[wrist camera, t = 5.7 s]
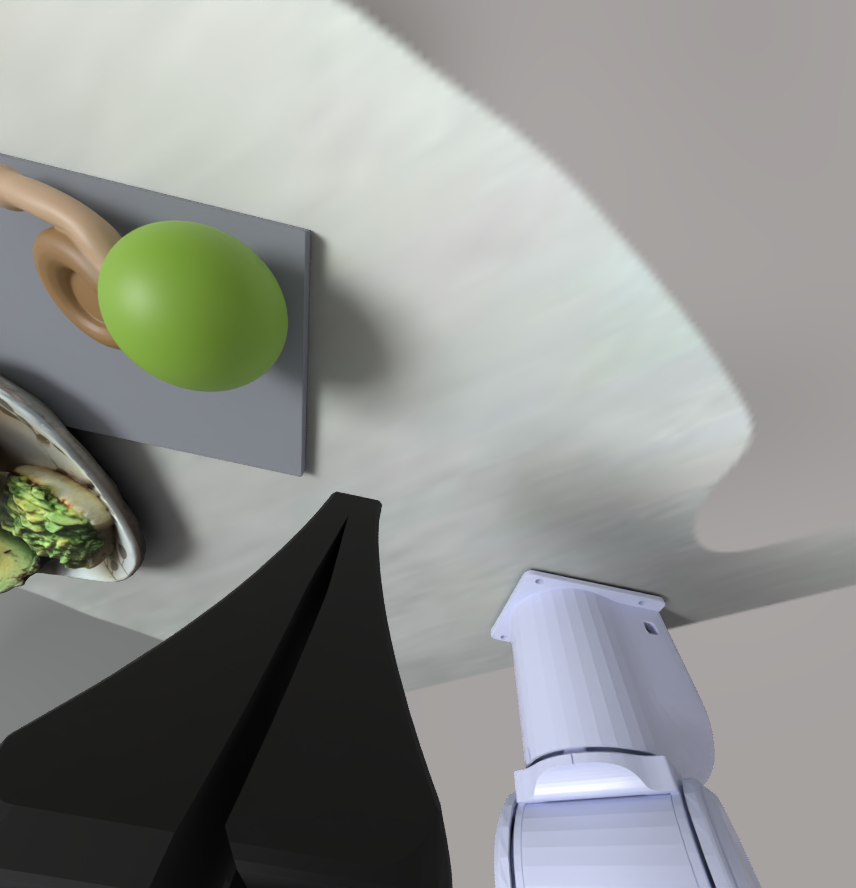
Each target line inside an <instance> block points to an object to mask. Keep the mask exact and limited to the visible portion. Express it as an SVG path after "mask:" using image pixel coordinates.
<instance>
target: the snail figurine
mask: <svg viewBox="0 0 856 888" xmlns="http://www.w3.org/2000/svg"><path fill="white" fill-rule="evenodd" d="M0 206H1V207H3V208H6V209H8V210H12V211H18V212H21V211H26V212H28V213H30V214H32V215H34V216H35V217H37V218H39V219H41V220H43V221H45V222H47V223H49V224H51V225H53V226H54V227H50V228H48V229H45V230H43V231H41V232H40V233H39V234H38V236H37V237H36V239H35V241H34V243H33V258H34V264H35V267H36V270H37V273H38V275H39V277H40V279H41V281H42V283H43V285H44V287H45V289H46V290H47V292H48V294H49V295H50V297H51V298H52V299H53V301H54V302H55V304H56V305H57V306H58V307H59V309H60V310H61V311H62V312H63V313H64V314H65V315H66V317H67V318H68V319H69V320H70V321H71V322H72V323H73V324H74V325H76V326H77V327H78V328H79V329H80V330H81V331H83V332H84V333H85V334H87V335H88V336H89V337H91V338H92V339H94V340H96V341H97V342H99V343H101V344H103V345H105V346H108V347H111V348H114V349H118V350H122V351H123V352H124V353H125V354H126V355H127V356H128V357H129V358H130V359H131V360H132V361H133V362H134V363H135V364H137V365H138V366H139V367H140V368H142V369H143V370H145V371H146V372H148V373H149V374H151V375H152V376H154V377H156V378H158V379H160V380H162V381H164V382H166V383H169V384H171V385H174V386H177V387H181V388H184V389H189V390H194V391H203V392H218V391H227V390H232V389H236V388H239V387H242V386H244V385H247V384H249V383H251V382H253V381H255V380H256V379H258V378H259V377H261V376H262V375H263V374H265V373H266V372H267V371H268V370H269V369H270V368H271V367H272V366H273V364H274V363H275V362H276V360H277V359H278V357H279V355H280V354H281V352H282V349H283V347H284V344H285V341H286V337H287V330H288V314H287V307H286V303H285V299H284V296H283V293H282V291H281V288H280V286H279V284H278V282H277V280H276V278H275V277H274V275H273V274H272V272H271V271H270V269H269V268H268V267H267V265H266V264H265V263H264V262H263V261H262V259H261V258H260V257H259V256H258V255H257V254H256V253H255V252H253V251H252V250H251V249H250V248H249V247H247V246H246V245H245V244H244V243H242V242H241V241H239V240H238V239H236V238H234V237H233V236H231V235H229V234H227V233H225V232H223V231H221V230H219V229H216V228H214V227H211V226H208V225H204V224H200V223H196V222H190V221H178V220H172V221H161V222H155V223H151V224H147V225H144V226H142V227H139V228H137V229H135V230H133V231H131V232H130V233H128V234H127V235H125V236H124V237H123V238H122V237H121V236H120V234H119V233H118V232H117V231H116V230H115V229H114V228H113V227H112V226H111V225H110V224H109V223H108V222H107V221H106V220H104V219H103V218H102V217H101V216H99V215H98V214H97V213H96V212H94V211H93V210H92V209H90V208H89V207H87V206H86V205H84V204H83V203H81V202H80V201H78V200H76V199H75V198H73V197H71V196H69V195H67V194H66V193H64V192H62V191H60V190H58V189H55V188H53V187H51V186H49V185H47V184H45V183H43V182H40V181H38V180H35V179H32V178H29V177H26V176H23V175H22V174H20V173H19V172H18V171H17V170H15V169H14V168H12V167H10V166H8V165H5V164H0Z"/></svg>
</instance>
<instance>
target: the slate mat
mask: <svg viewBox="0 0 856 888" xmlns="http://www.w3.org/2000/svg"><path fill="white" fill-rule="evenodd" d="M0 164H5V165H8V166H10V167H12V168H14V169H15V170H17V171H18V172H19V173H20V174H22V175H23V176H26V177H29V178H32V179H35V180H38V181H40V182H43V183H45V184H47V185H49V186H51V187H53V188H55V189H58V190H60V191H62V192H64V193H66V194H67V195H69V196H71V197H73V198H75V199H76V200H78V201H80V202H81V203H83V204H84V205H86V206H87V207H89V208H90V209H92V210H93V211H94V212H96V213H97V214H98V215H99V216H101V217H102V218H103V219H104V220H106V221H107V222H108V223H109V224H110V225H111V226H112V227H113V228H114V229H115V230H116V231H117V232H118V233H119V234H120V236H121V237H122V238H123V237H124V236H125V235H127V234H128V233H130V232H131V231H133V230H135V229H137V228H139V227H142V226H144V225H147V224H151V223H155V222H161V221H172V220H178V221H190V222H196V223H200V224H204V225H208V226H211V227H214V228H216V229H219V230H221V231H223V232H225V233H227V234H229V235H231V236H233V237H234V238H236V239H238V240H239V241H241V242H242V243H244V244H245V245H246V246H247V247H249V248H250V249H251V250H252V251H253V252H255V253H256V254H257V255H258V256H259V257H260V258H261V259H262V261H263V262H264V263H265V264H266V265H267V267H268V268H269V269H270V271H271V272H272V274H273V275H274V277H275V278H276V280H277V282H278V284H279V286H280V288H281V291H282V293H283V296H284V299H285V303H286V307H287V314H288V330H287V337H286V341H285V344H284V347H283V349H282V352H281V354H280V355H279V357H278V359H277V360H276V362H275V363H274V364H273V366H272V367H271V368H270V369H269V370H268V371H267V372H266V373H265V374H263V375H262V376H261V377H259V378H258V379H256V380H255V381H253V382H251V383H249V384H247V385H244V386H242V387H239V388H236V389H232V390H227V391H218V392H203V391H194V390H189V389H184V388H181V387H177V386H174V385H171V384H169V383H166V382H164V381H162V380H160V379H158V378H156V377H154V376H152V375H151V374H149V373H148V372H146V371H145V370H143V369H142V368H140V367H139V366H138V365H137V364H135V363H134V362H133V361H132V360H131V359H130V358H129V357H128V356H127V355H126V354H125V353H124V352H123V351H122V350H118V349H114V348H111V347H108V346H105V345H103V344H101V343H99V342H97V341H96V340H94V339H92V338H91V337H89V336H88V335H87V334H85V333H84V332H83V331H81V330H80V329H79V328H78V327H77V326H76V325H74V324H73V323H72V322H71V321H70V320H69V319H68V318H67V317H66V315H65V314H64V313H63V312H62V311H61V310H60V309H59V307H58V306H57V305H56V304H55V302H54V301H53V299H52V298H51V297H50V295H49V294H48V292H47V290H46V289H45V287H44V285H43V283H42V281H41V279H40V277H39V275H38V273H37V270H36V267H35V264H34V258H33V243H34V241H35V239H36V237H37V236H38V234H39V233H40V232H41V231H43V230H45V229H48V228H50V227H54V226H53V225H51V224H49V223H47V222H45V221H43V220H41V219H39V218H37V217H35V216H34V215H32V214H30V213H28V212H26V211H21V212H18V211H12V210H8V209H6V208H3V207H1V206H0V372H1V374H2V376H3V377H5V378H7V379H8V380H10V381H11V382H13V383H15V384H16V385H18V386H19V387H21V388H23V389H24V390H26V391H27V392H29V393H31V394H32V395H34V396H35V397H37V398H38V399H39V400H41V401H42V402H43V403H44V404H46V405H47V406H48V407H49V408H50V409H51V410H52V411H53V413H54V414H55V415H56V416H57V417H58V418H59V419H60V421H61V422H62V423H63V424H64V425H65V426H66V427H71V428H76V429H80V430H85V431H89V432H94V433H99V434H103V435H108V436H113V437H117V438H122V439H127V440H131V441H136V442H141V443H145V444H150V445H155V446H159V447H164V448H169V449H173V450H178V451H183V452H187V453H192V454H197V455H201V456H206V457H210V458H215V459H220V460H224V461H229V462H234V463H238V464H243V465H248V466H252V467H257V468H262V469H266V470H271V471H276V472H280V473H285V474H290V475H294V476H299V477H301V476H302V475H303V473H304V471H305V450H306V409H307V367H308V326H309V285H310V243H311V230H308V229H304V228H300V227H296V226H292V225H288V224H284V223H280V222H276V221H271V220H267V219H263V218H259V217H255V216H251V215H247V214H243V213H239V212H235V211H231V210H227V209H223V208H219V207H215V206H211V205H207V204H203V203H199V202H195V201H191V200H187V199H183V198H179V197H175V196H170V195H166V194H162V193H158V192H154V191H150V190H146V189H142V188H138V187H134V186H130V185H126V184H122V183H118V182H114V181H110V180H106V179H102V178H98V177H94V176H90V175H86V174H82V173H78V172H74V171H69V170H65V169H61V168H57V167H53V166H49V165H45V164H41V163H37V162H33V161H29V160H25V159H21V158H17V157H13V156H9V155H5V154H1V153H0Z"/></svg>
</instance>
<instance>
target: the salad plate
mask: <svg viewBox="0 0 856 888" xmlns="http://www.w3.org/2000/svg"><path fill="white" fill-rule="evenodd" d="M145 551H146V547H145V540H144V537H143V534H142V530H141V526H140V524H139V522H138V520H137V518H136V516H135V514H134V513H133V512H132V510H131V509H130V508H129V506H128V505H127V504H126V503H125V501H124V500H123V499H122V497H121V494H120V492H119V489H118V488H117V486H116V484H115V483H114V481H113V480H112V479H111V478H110V477H109V476H108V475H107V473H106V472H105V471H104V470H103V469H102V467H101V466H100V465H99V464H98V463H97V461H96V460H95V459H94V458H93V456H92V455H91V454H90V453H89V452H88V451H87V449H86V448H85V447H84V446H83V445H82V444H81V443H80V442H79V441H78V440H77V439H76V438H75V437H74V436H73V435H72V434H71V433H70V432H69V431H68V429H67V428H66V427H65V425H64V424H63V423H62V422H61V421H60V419H59V418H58V417H57V416H56V415H55V414H54V413H53V411H52V410H51V409H50V408H49V407H48V406H47V405H46V404H44V403H43V402H42V401H41V400H39V399H38V398H37V397H35V396H34V395H32V394H31V393H29V392H27V391H26V390H24V389H23V388H21V387H19V386H18V385H16V384H15V383H13V382H11V381H10V380H8V379H7V378H5V377H3V376H2V375H0V593H4V592H7V591H9V590H10V589H12V588H14V587H18V586H22V585H24V584H25V582H26V580H27V579H28V578H29V577H30V576H32V575H33V574H35V573H46V574H53V575H63V576H68V577H73V578H82V579H87V580H93V581H101V582H118V581H122V580H125V579H127V578H129V577H130V576H131V575H133V574H134V573H135V571H136V570H137V569H138V568H139V567H140V565H141V564H142V562H143V560H144V555H145Z"/></svg>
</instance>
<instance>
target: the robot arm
mask: <svg viewBox="0 0 856 888" xmlns="http://www.w3.org/2000/svg"><path fill="white" fill-rule="evenodd" d="M381 508H382V504H381V503H380V501H378V500H374V499H369V498H364V497H359V496H355V495H350V494H345V493H340V492H335V493H333V494H332V495H331V496H330V497H329V499H328V500H327V501H326V502H325V504H324V505H323V506H322V507H321V508H320V509H319V511H318V512H317V513H316V514H315V515H314V516H313V517H312V518H311V519H310V520H309V522H308V523H307V524H306V525H305V526H304V527H303V528H302V529H301V530H300V531H299V532H298V533H297V534H296V535H295V536H294V537H293V538H292V539H291V540H290V541H289V542H288V543H287V544H286V545H285V546H284V547H283V548H282V549H281V550H280V551H278V552H277V553H276V554H275V555H274V556H273V557H272V558H271V559H270V560H268V561H267V562H266V563H265V564H264V565H263V566H262V567H261V568H260V569H259V570H257V571H256V572H255V573H254V574H253V575H252V576H250V577H249V578H248V579H247V580H246V581H244V582H243V583H242V584H241V585H240V586H238V587H237V588H236V589H235V590H233V591H232V592H231V593H230V594H228V595H227V596H226V597H224V598H223V599H222V600H221V601H219V602H218V603H217V604H215V605H214V606H213V607H211V608H210V609H209V610H207V611H206V612H204V613H203V614H202V615H200V616H199V617H198V618H196V619H195V620H194V621H192V622H191V623H189V624H188V625H187V626H185V627H184V628H182V629H181V630H179V631H178V632H177V633H175V634H174V635H172V636H171V637H169V638H168V639H166V640H165V641H163V642H162V643H160V644H159V645H157V646H156V647H154V648H153V649H151V650H149V651H148V652H146V653H145V654H143V655H142V656H140V657H139V658H137V659H136V660H134V661H132V662H131V663H129V664H128V665H126V666H125V667H123V668H121V669H120V670H118V671H117V672H115V673H114V674H112V675H111V676H109V677H107V678H106V679H104V680H102V681H101V682H99V683H97V684H96V685H94V686H92V687H91V688H89V689H88V690H85V691H84V692H82V693H80V694H79V695H77V696H75V697H73V698H72V699H70V700H68V701H67V702H65V703H63V704H61V705H60V706H58V707H56V708H54V709H53V710H51V711H49V712H47V713H46V714H44V715H42V716H41V717H39V718H37V719H35V720H34V721H32V722H30V723H28V724H27V725H25V726H23V727H21V728H20V729H18V730H16V731H14V732H13V733H11V734H10V735H8V736H7V737H6V738H5V739H4V741H3V742H2V743H1V744H0V888H452V873H451V864H450V857H449V850H448V844H447V838H446V833H445V828H444V822H443V817H442V811H441V805H440V802H439V798H438V796H437V793H436V790H435V787H434V784H433V782H432V779H431V776H430V773H429V771H428V767H427V764H426V761H425V759H424V756H423V752H422V750H421V747H420V743H419V740H418V737H417V734H416V731H415V727H414V724H413V721H412V718H411V715H410V711H409V708H408V704H407V701H406V697H405V693H404V689H403V686H402V682H401V678H400V675H399V671H398V667H397V663H396V659H395V655H394V650H393V646H392V642H391V637H390V632H389V627H388V622H387V616H386V611H385V604H384V598H383V591H382V583H381V574H380V562H379V544H378V532H379V519H380V513H381ZM664 606H665V602H664V600H663V599H662V598H661V597H658V596H654V595H649V594H644V593H639V592H635V591H630V590H625V589H620V588H615V587H611V586H606V585H601V584H596V583H592V582H587V581H582V580H577V579H572V578H568V577H563V576H558V575H553V574H549V573H544V572H539V571H534V570H529V571H526V572H525V573H524V574H523V576H522V578H521V579H520V581H519V583H518V584H517V586H516V588H515V590H514V591H513V593H512V595H511V597H510V598H509V600H508V602H507V603H506V605H505V607H504V609H503V610H502V612H501V614H500V616H499V617H498V619H497V621H496V622H495V624H494V626H493V628H492V629H491V636H492V637H493V638H494V639H498V640H503V641H508V642H512V649H513V658H514V667H515V676H516V684H517V694H518V703H519V712H520V722H521V731H522V739H523V748H524V757H525V767H526V769H522V770H516V771H514V776H515V787H516V792H514V793H512V794H510V795H509V796H508V798H507V799H506V802H505V804H504V806H503V809H502V812H501V816H500V819H499V822H498V825H497V830H496V837H495V850H494V871H495V887H496V888H761V886H760V883H759V881H758V879H757V877H756V874H755V872H754V870H753V868H752V866H751V864H750V861H749V859H748V857H747V855H746V853H745V851H744V848H743V846H742V844H741V842H740V840H739V837H738V836H737V833H736V831H735V829H734V827H733V825H732V823H731V821H730V819H729V817H728V815H727V813H726V811H725V809H724V807H723V805H722V804H721V802H720V800H719V798H718V797H717V796H716V795H715V794H714V793H713V792H711V791H710V790H709V789H707V788H706V787H705V786H703V785H704V784H705V783H706V782H707V780H708V778H709V776H710V774H711V772H712V769H713V765H714V741H713V734H712V730H711V725H710V721H709V718H708V715H707V713H706V710H705V707H704V705H703V703H702V701H701V699H700V696H699V694H698V692H697V690H696V689H695V686H694V684H693V682H692V680H691V678H690V676H689V674H688V672H687V670H686V667H685V665H684V663H683V661H682V659H681V657H680V655H679V653H678V651H677V649H676V647H675V645H674V643H673V640H672V638H671V636H670V634H669V632H668V630H667V628H666V626H665V624H664V622H663V620H662V618H661V615H660V613H659V611H660V610H661V609H663V608H664Z"/></svg>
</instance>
